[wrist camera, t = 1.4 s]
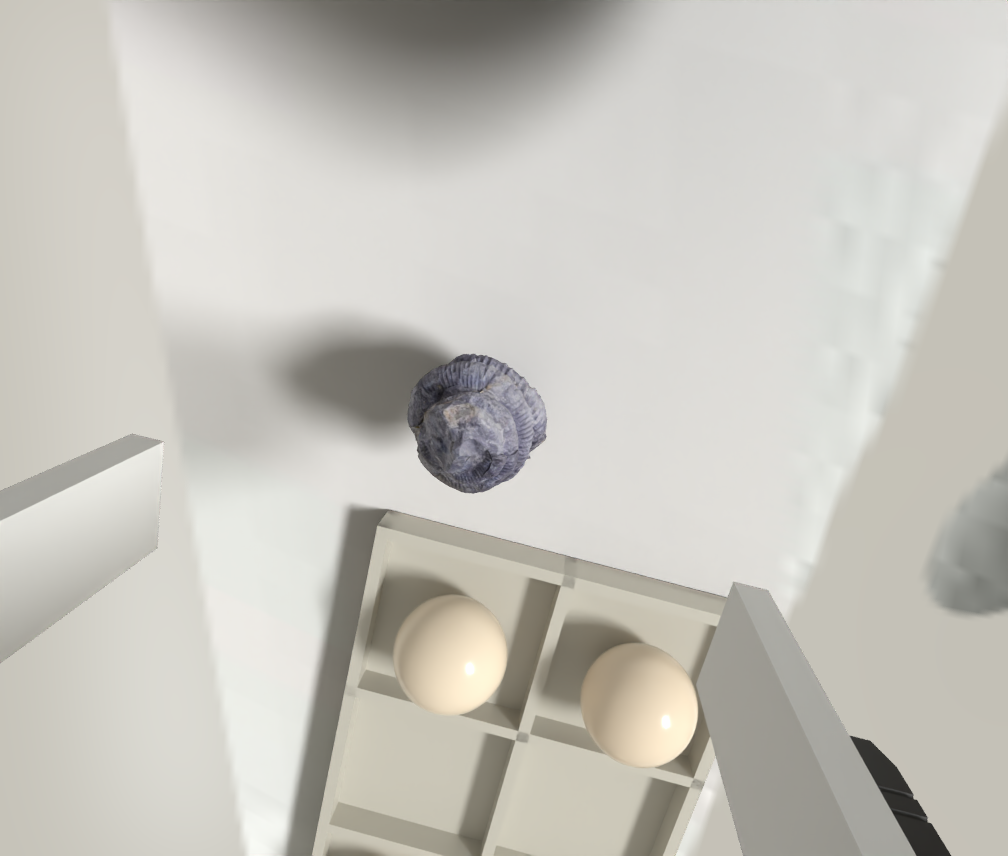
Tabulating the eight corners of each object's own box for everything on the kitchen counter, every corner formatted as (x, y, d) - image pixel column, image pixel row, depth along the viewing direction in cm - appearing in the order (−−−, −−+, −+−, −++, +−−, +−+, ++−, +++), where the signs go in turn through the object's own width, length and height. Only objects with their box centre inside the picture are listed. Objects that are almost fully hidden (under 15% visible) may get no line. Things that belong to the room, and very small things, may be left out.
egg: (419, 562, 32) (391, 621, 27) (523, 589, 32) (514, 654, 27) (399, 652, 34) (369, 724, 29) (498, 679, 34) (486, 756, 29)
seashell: (432, 438, 31) (372, 520, 22) (448, 329, 30) (391, 364, 20) (541, 459, 31) (529, 551, 21) (562, 349, 30) (559, 395, 20)
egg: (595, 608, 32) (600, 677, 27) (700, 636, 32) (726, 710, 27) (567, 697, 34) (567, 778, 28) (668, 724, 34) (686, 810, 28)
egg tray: (388, 509, 32) (377, 525, 30) (755, 605, 32) (767, 627, 30) (306, 913, 40) (293, 947, 38) (601, 996, 40) (603, 1034, 38)
